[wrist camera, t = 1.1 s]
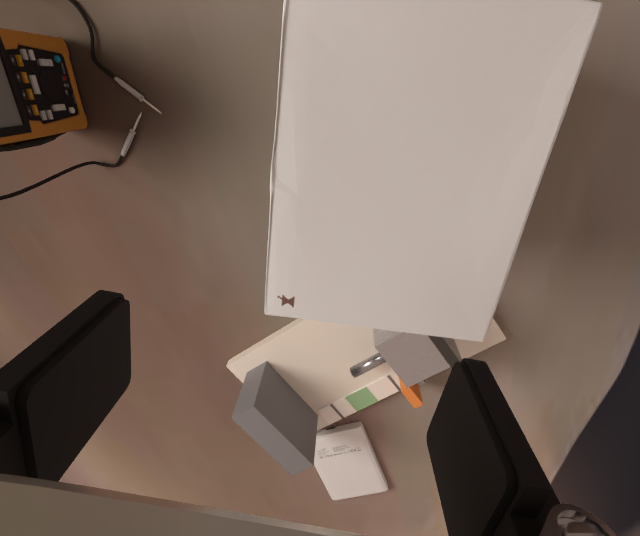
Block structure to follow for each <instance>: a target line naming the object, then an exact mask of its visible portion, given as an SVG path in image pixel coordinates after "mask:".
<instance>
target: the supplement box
mask: <svg viewBox="0 0 640 536" xmlns="http://www.w3.org/2000/svg"><path fill="white" fill-rule="evenodd" d="M602 7H603V4H602V3H601V2H595V1H590V0H284V5H283V19H282V34H281V49H280V64H279V79H278V96H277V110H276V123H275V136H274V145H273V154H272V162H271V177H270V217H269V234H268V250H267V267H266V286H265V310H264V313H265V315H273V316H282V317H291V318H300V319H307V320H314V321H321V322H328V323H335V324H343V325H350V326H358V327H366V328H373V329H381V330H389V331H397V332H405V333H413V334H421V335H429V336H437V337H445V338H453V339H461V340H469V341H477V342H483V341H484V340H485V338H486V335H487V332H488V330H489V327H490V324H491V322H492V319H493V316H494V313H495V311H496V308H497V305H498V302H499V300H500V297H501V294H502V291H503V289H504V286H505V283H506V280H507V278H508V275H509V272H510V269H511V266H512V263H513V260H514V257H515V254H516V251H517V248H518V245H519V242H520V239H521V236H522V233H523V230H524V227H525V224H526V221H527V219H528V216H529V213H530V210H531V207H532V204H533V201H534V198H535V196H536V193H537V190H538V187H539V184H540V182H541V179H542V176H543V173H544V170H545V168H546V165H547V162H548V159H549V157H550V154H551V151H552V148H553V146H554V143H555V140H556V137H557V135H558V132H559V129H560V127H561V124H562V121H563V118H564V116H565V113H566V110H567V107H568V104H569V101H570V98H571V95H572V92H573V90H574V87H575V84H576V81H577V78H578V75H579V73H580V70H581V67H582V64H583V62H584V59H585V56H586V53H587V50H588V48H589V45H590V42H591V39H592V37H593V34H594V31H595V28H596V25H597V22H598V20H599V17H600V14H601V10H602Z"/></svg>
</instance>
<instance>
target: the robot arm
mask: <svg viewBox="0 0 640 536" xmlns="http://www.w3.org/2000/svg"><path fill="white" fill-rule="evenodd" d="M130 379H131V346H130V304H129V301H128V300H125V299H124V296H123V295H122V294H121V293H115V292H110V291H105V290H99V291H97V292H96V293H95V294H93V295H92V296H91V297H90V298H88V299H87V300H86V301H85V302H83V303H82V304H81V305H80V306H78V307H77V308H76V309H75V310H73V311H72V312H71V313H70V314H68V315H67V316H66V317H65V318H63V319H62V320H61V321H60V322H58V323H57V324H56V325H55V326H53V327H52V328H51V329H50V330H48V331H47V332H46V333H45V334H43V335H42V336H41V337H40V338H38V339H37V340H36V341H35V342H33V343H32V344H31V345H30V346H28V347H27V348H26V349H25V350H23V351H22V352H21V353H20V354H18V355H17V356H16V357H15V358H13V359H12V360H11V361H10V362H8V363H7V364H6V365H5V366H3V367H2V368H1V369H0V536H368V535H363V534H357V533H352V532H346V531H341V530H335V529H330V528H324V527H319V526H313V525H308V524H302V523H296V522H291V521H285V520H280V519H274V518H268V517H263V516H257V515H251V514H246V513H240V512H234V511H228V510H223V509H217V508H211V507H206V506H200V505H194V504H189V503H183V502H177V501H171V500H165V499H159V498H153V497H147V496H141V495H136V494H130V493H124V492H118V491H112V490H106V489H100V488H94V487H89V486H83V485H76V484H69V483H63V482H58V481H59V480H60V478H61V477H62V476H63V474H64V473H65V471H66V470H67V469H68V467H69V466H70V465H71V463H72V462H73V461H74V459H75V458H76V457H77V455H78V454H79V453H80V451H81V450H82V448H83V447H84V446H85V444H86V443H87V442H88V440H89V439H90V438H91V436H92V435H93V434H94V432H95V431H96V430H97V428H98V427H99V425H100V424H101V423H102V421H103V420H104V419H105V417H106V416H107V415H108V413H109V412H110V411H111V409H112V408H113V407H114V405H115V404H116V402H117V401H118V400H119V398H120V397H121V396H122V394H123V393H124V392H125V390H126V389H127V387H128V385H129V383H130ZM427 445H428V450H429V454H430V458H431V462H432V467H433V471H434V475H435V479H436V483H437V488H438V492H439V496H440V500H441V505H442V509H443V513H444V517H445V522H446V526H447V530H448V534H449V536H616V534H615V533H614V532H613V531H612V530H611V529H610V528H609V527H608V526H607V525H606V524H605V523H604V522H603V521H601V520H600V519H599V518H597V517H596V516H595V515H594V514H592V513H590V512H588V511H587V510H585V509H583V508H581V507H578V506H575V505H572V504H565V503H561V504H560V502H559V500H558V498H557V497H556V495H555V493H554V491H553V489H552V487H551V485H550V483H549V481H548V479H547V477H546V475H545V473H544V472H543V470H542V468H541V466H540V464H539V462H538V460H537V458H536V456H535V454H534V453H533V451H532V449H531V447H530V445H529V443H528V441H527V439H526V437H525V435H524V434H523V432H522V430H521V428H520V426H519V424H518V422H517V420H516V418H515V417H514V415H513V413H512V411H511V409H510V407H509V405H508V403H507V401H506V399H505V398H504V396H503V394H502V392H501V390H500V388H499V386H498V384H497V382H496V380H495V379H494V377H493V375H492V373H491V371H490V369H489V367H488V365H487V364H486V362H484V361H479V360H473V359H468V358H463V359H462V360H461V362H456V363H455V364H454V366H453V368H452V371H451V373H450V376H449V378H448V381H447V383H446V386H445V388H444V391H443V393H442V396H441V398H440V401H439V403H438V406H437V408H436V411H435V413H434V416H433V418H432V421H431V423H430V426H429V428H428V431H427Z"/></svg>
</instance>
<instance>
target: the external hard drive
mask: <svg viewBox="0 0 640 536" xmlns="http://www.w3.org/2000/svg"><path fill="white" fill-rule="evenodd" d="M314 465H315V467H316V469H317V471H318V473H319V475H320V477H321V479H322V481H323V483H324V485H325V487H326V489H327V490H328V492H329V494H330V496H331V498H332V499H333V500H340V499H345V498H351V497H357V496H362V495H368V494H374V493H380V492H384V491H387V490H388V483H387V481H386V479H385V476H384V474H383V472H382V469H381V467H380V465H379V462H378V460H377V458H376V455H375V453H374V450H373V448H372V446H371V443H370V441H369V439H368V436H367V434H366V432H365V429H364V427H363V424H362V422H361V421H359V422H355V423H350V424H345V425H340V426H336V428H331V429H322V430H318V431H317V434H316V446H315V457H314Z"/></svg>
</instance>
